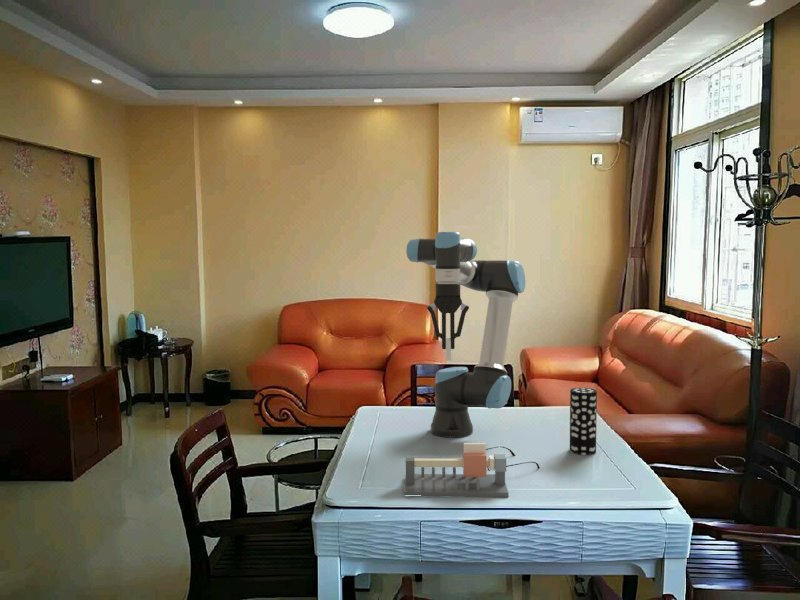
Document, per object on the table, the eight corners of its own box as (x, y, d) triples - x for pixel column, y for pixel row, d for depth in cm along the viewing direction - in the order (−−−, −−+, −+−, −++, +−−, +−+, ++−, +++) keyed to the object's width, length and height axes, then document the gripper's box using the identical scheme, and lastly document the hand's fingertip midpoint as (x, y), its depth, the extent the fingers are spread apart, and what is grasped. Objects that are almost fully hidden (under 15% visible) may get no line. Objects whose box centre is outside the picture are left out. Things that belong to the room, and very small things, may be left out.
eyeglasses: (470, 462, 207) (470, 449, 207) (512, 455, 214) (512, 443, 214) (499, 479, 192) (499, 465, 192) (543, 471, 199) (544, 458, 199)
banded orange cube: (464, 477, 182) (464, 446, 181) (463, 469, 188) (463, 440, 187) (486, 477, 182) (486, 446, 181) (484, 469, 188) (484, 440, 187)
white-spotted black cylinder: (597, 455, 211) (598, 393, 210) (570, 454, 213) (570, 392, 211) (594, 447, 219) (595, 388, 218) (569, 446, 221) (569, 387, 219)
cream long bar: (408, 471, 184) (408, 458, 183) (408, 466, 187) (408, 454, 187) (506, 471, 182) (506, 458, 182) (504, 466, 186) (504, 454, 186)
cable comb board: (404, 496, 179) (403, 467, 178) (405, 478, 193) (405, 451, 192) (508, 496, 178) (508, 467, 177) (502, 478, 192) (502, 451, 191)
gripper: (426, 283, 198) (427, 362, 200) (470, 283, 197) (470, 361, 199) (426, 282, 205) (426, 357, 207) (468, 281, 205) (468, 357, 207)
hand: (448, 359), depth 203 cm, fingers closed
